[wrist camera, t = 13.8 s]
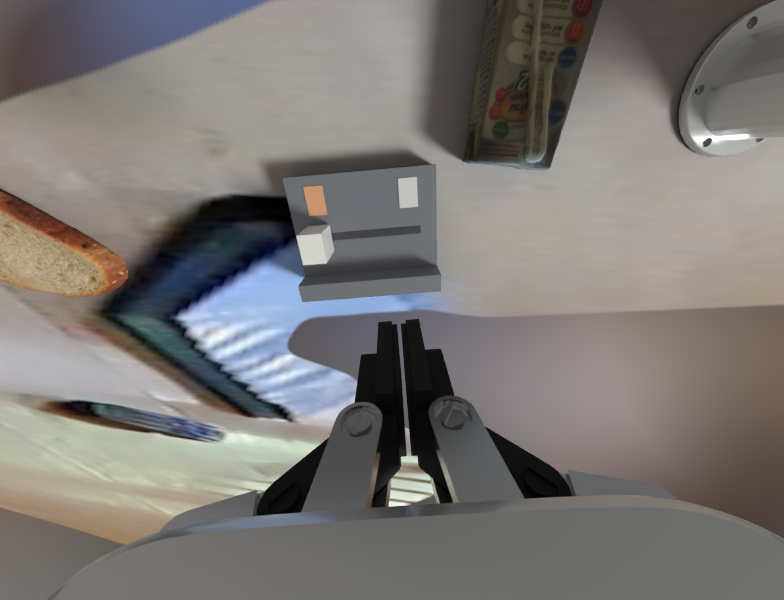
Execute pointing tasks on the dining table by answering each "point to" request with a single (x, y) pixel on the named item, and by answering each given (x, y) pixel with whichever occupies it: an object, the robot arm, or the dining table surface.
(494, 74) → the beverage carton
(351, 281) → the grey slide switch panel
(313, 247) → the knob
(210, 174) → the dining table surface
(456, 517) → the robot arm
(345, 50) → the dining table surface
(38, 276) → the bread slice
